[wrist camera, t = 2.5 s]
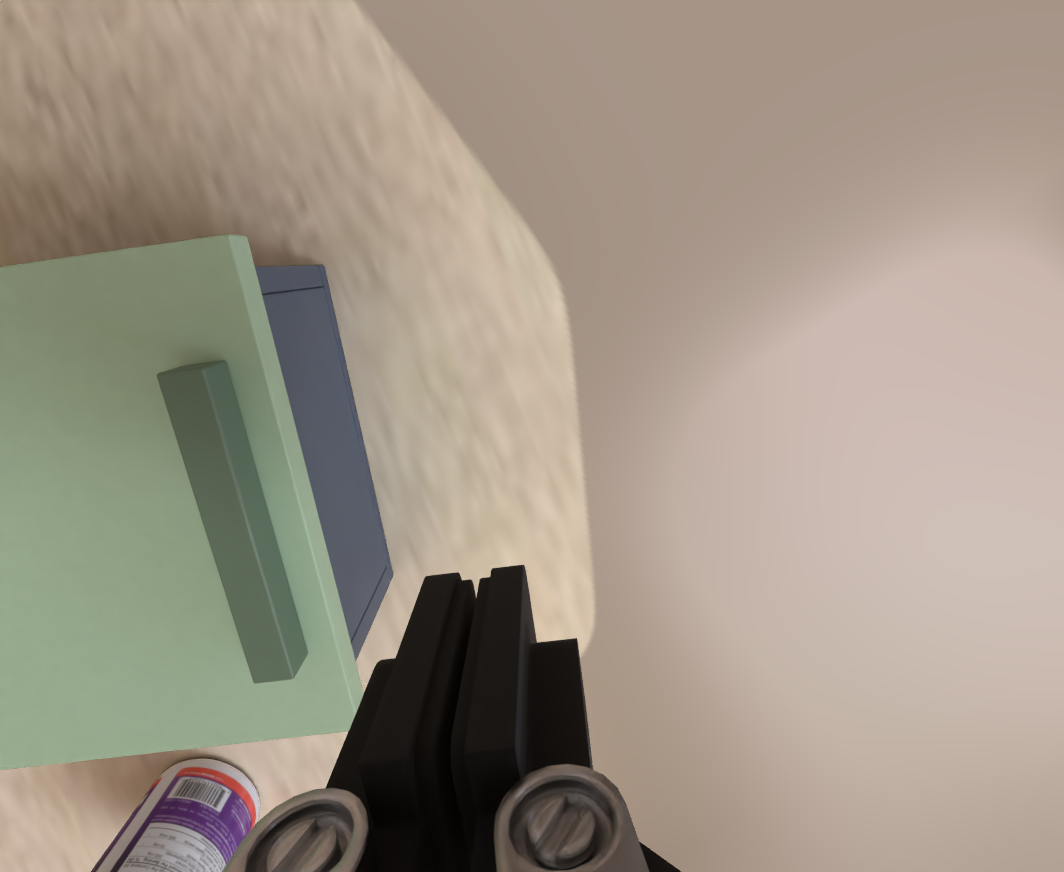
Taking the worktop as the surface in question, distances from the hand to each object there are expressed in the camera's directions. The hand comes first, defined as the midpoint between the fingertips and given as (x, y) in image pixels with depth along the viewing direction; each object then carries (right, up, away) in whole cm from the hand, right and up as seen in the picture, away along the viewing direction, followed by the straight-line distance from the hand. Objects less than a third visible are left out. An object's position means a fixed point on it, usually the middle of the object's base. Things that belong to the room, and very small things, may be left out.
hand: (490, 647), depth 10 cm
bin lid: (-13, +1, +8) cm, 15 cm away
